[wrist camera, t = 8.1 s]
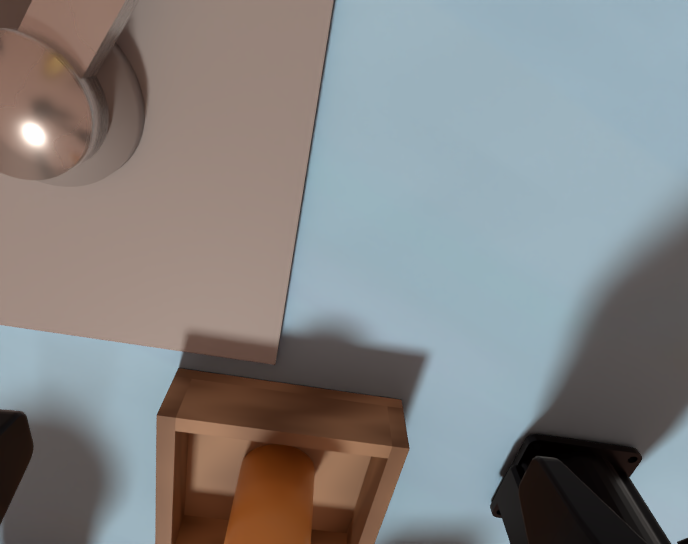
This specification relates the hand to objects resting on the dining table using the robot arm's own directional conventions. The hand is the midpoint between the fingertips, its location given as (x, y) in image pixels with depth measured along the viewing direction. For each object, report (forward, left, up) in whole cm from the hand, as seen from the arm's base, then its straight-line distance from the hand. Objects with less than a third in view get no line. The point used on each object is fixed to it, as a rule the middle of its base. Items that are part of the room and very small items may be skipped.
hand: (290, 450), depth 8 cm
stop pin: (0, +15, -12) cm, 19 cm away
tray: (0, +15, -12) cm, 19 cm away
